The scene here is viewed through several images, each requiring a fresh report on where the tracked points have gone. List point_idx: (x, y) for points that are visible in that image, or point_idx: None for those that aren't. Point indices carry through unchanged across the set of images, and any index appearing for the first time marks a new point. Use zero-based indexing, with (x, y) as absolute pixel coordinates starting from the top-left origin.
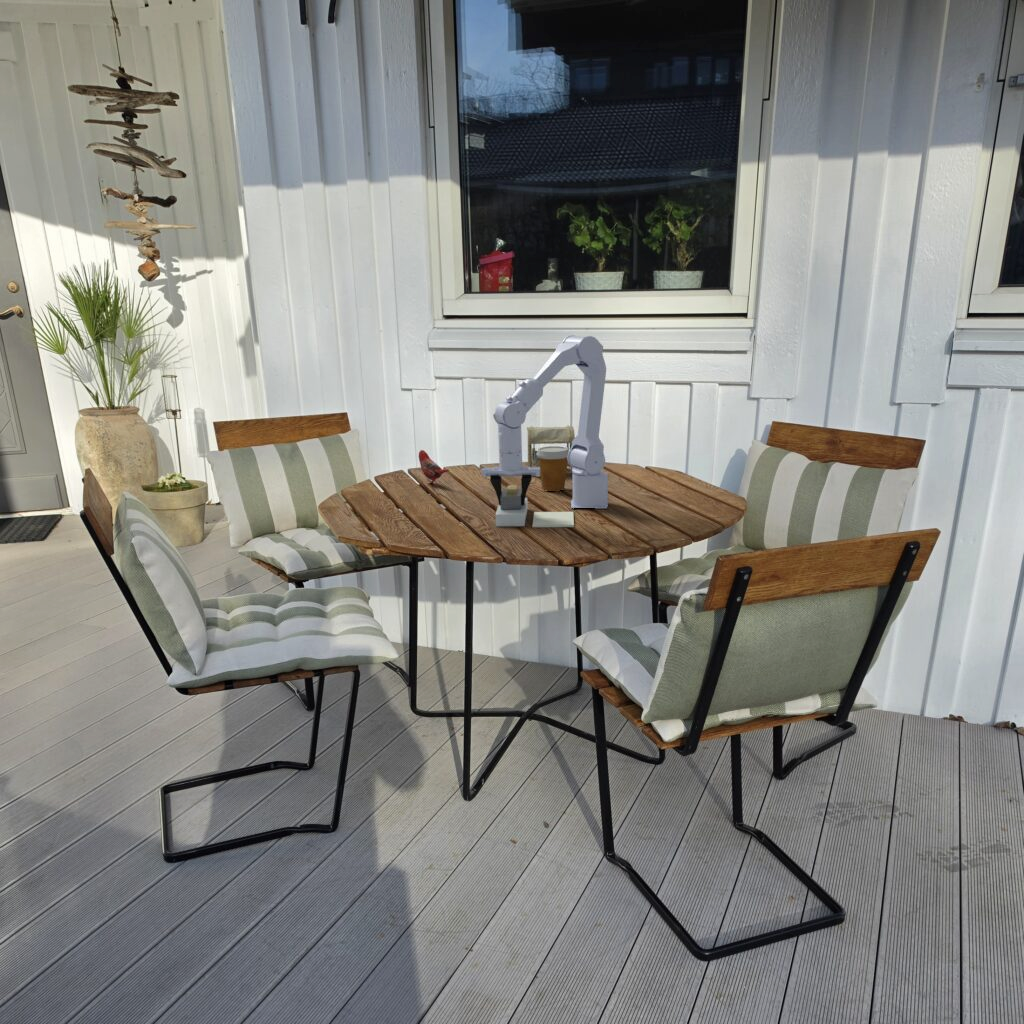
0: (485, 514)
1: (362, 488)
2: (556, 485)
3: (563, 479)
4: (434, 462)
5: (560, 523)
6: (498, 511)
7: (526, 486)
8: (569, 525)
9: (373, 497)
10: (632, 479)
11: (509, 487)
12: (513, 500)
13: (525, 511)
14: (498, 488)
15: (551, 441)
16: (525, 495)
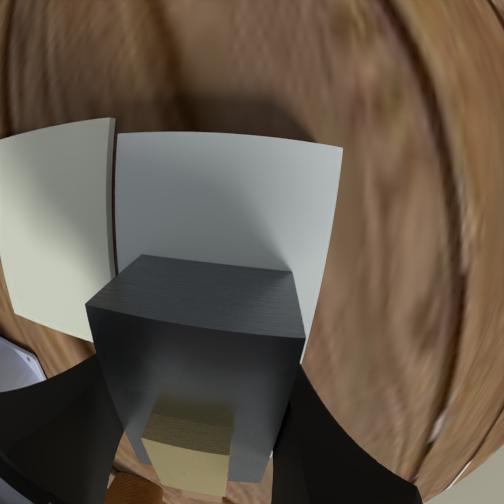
0: (347, 371)
1: (479, 463)
2: (122, 484)
3: (107, 490)
4: None
5: (18, 157)
6: (313, 234)
7: (26, 393)
8: (2, 139)
9: (497, 437)
10: None
11: (206, 474)
12: (167, 295)
13: None
14: (318, 451)
15: None
16: (83, 361)
